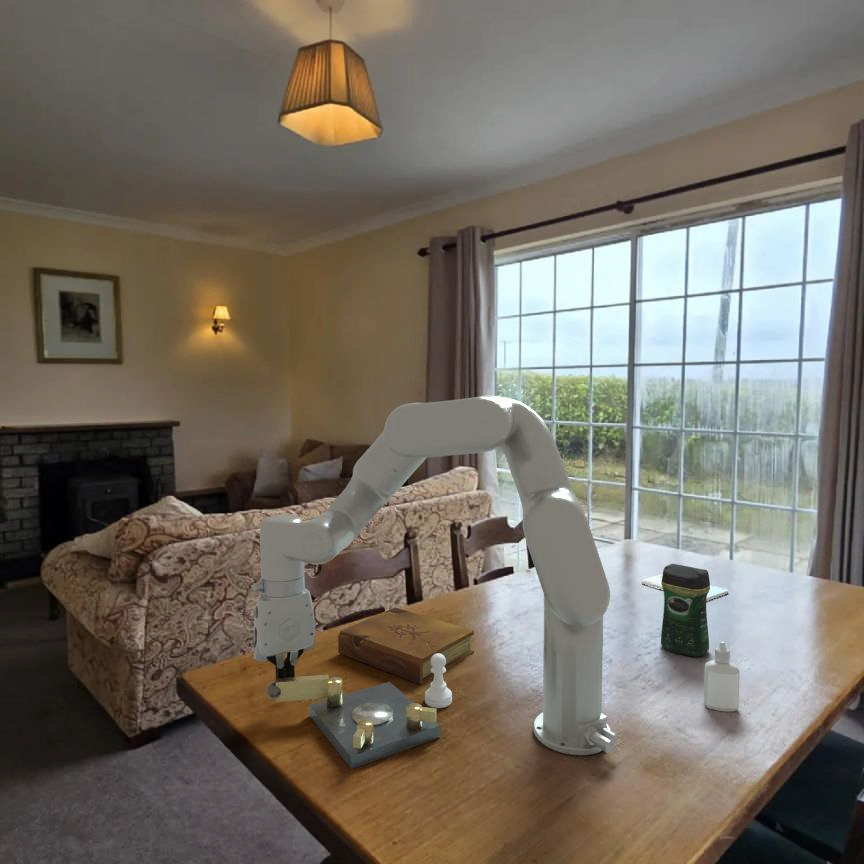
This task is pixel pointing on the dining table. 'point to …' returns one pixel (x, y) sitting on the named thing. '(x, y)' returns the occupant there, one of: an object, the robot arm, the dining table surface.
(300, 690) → the brass lever
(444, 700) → the chess pawn
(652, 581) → the calculator
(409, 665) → the diary
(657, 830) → the dining table surface
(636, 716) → the dining table surface
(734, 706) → the eye dropper bottle
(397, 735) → the levelling plate
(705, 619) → the coffee jar
